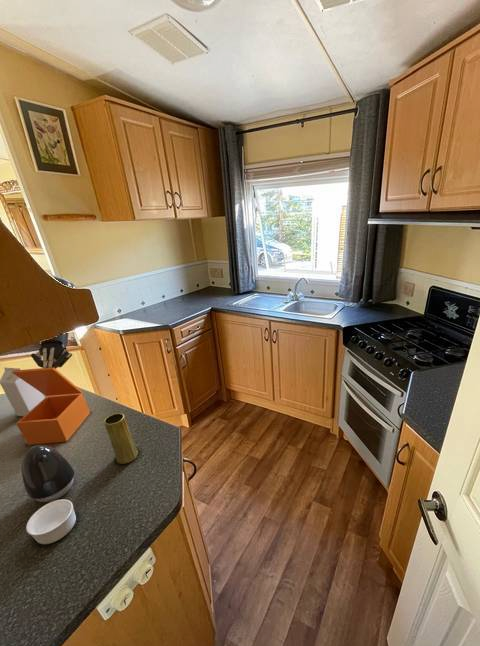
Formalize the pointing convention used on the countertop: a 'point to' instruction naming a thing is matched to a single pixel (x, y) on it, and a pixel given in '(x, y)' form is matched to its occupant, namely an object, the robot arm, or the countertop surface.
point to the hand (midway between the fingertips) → (47, 379)
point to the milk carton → (19, 392)
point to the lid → (47, 381)
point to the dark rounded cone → (46, 473)
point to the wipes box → (54, 419)
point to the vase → (120, 438)
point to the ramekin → (52, 521)
